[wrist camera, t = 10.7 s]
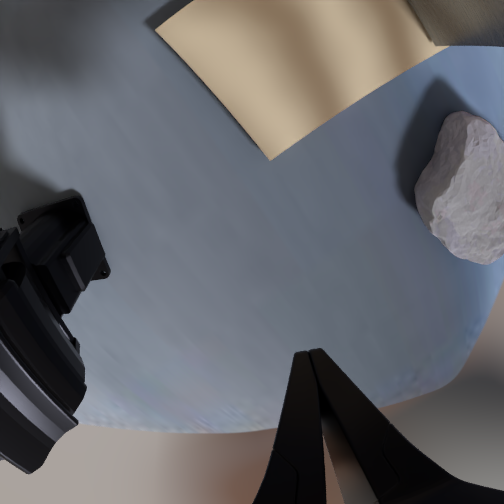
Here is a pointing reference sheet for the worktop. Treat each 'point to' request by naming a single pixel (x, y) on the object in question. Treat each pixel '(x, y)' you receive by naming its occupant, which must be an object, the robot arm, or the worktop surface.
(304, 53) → the wooden book rack
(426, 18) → the grey flat rectangular panel
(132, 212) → the worktop surface
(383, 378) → the worktop surface
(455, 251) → the stone block
